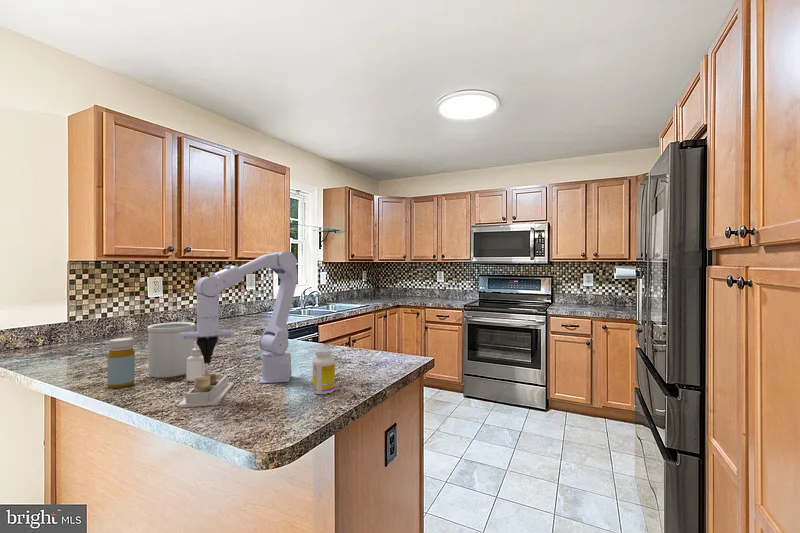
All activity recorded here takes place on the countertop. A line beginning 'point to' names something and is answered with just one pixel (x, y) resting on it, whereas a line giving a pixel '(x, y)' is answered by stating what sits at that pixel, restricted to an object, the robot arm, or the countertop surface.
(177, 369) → the utensil holder
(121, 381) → the bottle
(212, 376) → the walnut plug
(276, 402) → the countertop surface
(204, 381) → the maple plug
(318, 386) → the supplement bottle
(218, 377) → the maple plug
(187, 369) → the eye dropper bottle
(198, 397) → the white compartment tray
